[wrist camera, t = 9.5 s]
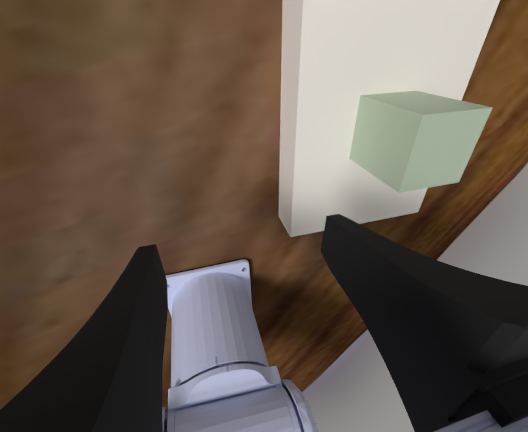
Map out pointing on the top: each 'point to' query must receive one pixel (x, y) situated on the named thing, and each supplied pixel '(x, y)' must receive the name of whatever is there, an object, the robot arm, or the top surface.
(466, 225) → the top surface
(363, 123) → the green block
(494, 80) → the top surface
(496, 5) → the base plinth
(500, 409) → the robot arm
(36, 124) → the top surface
